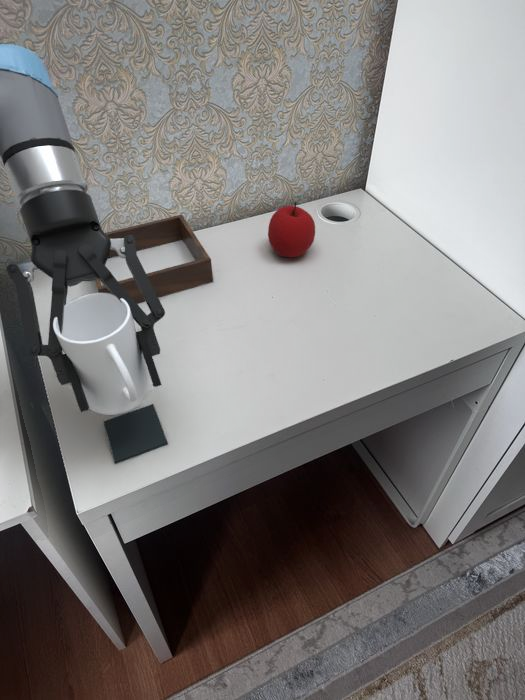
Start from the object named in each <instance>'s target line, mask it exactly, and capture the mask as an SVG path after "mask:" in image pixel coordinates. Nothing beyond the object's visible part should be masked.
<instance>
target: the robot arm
mask: <svg viewBox="0 0 525 700" xmlns="http://www.w3.org/2000/svg"><path fill="white" fill-rule="evenodd" d="M75 149H76V148H75V146H74V143H73V141H72V137H71V134H70V131H69V128H68V125H67V121H66V118H65V116H64V113H63V109H62V107H61V103H60V100H59V95H58V92H57V91H56V89H55V88H54V84H53V83H52V81H51V77H50V74H49V72H48V70H47V68H46V65H45V63H44V61H43V60H42V59H41V58H40V56H38V55H37V54H36V53H34V52H33V50H30V49H28V48H26V47H23V46H20V45H16V44H9V43H7V44H6V43H1V44H0V158H1V160H2V163H3V167H4V170H5V173H6V177H7V179H8V182H9V185H10V187H11V190H12V193H13V196H14V198H15V201H16V203H17V204H18V205H19V206H21V208H20V210H19V213H20V216H21V220H22V222H23V225H24V227H25V230H26V233H27V236H28V239H29V242H30V246H31V252H30V258H27V259H26V260H24V261H21V262H19V263H17V264H16V263H9V264H8V265H7V266H6V270H5V271H6V272H7V274H8V276H9V278H10V279H11V281H12V282H13V284H14V285H15V288H16V294H17V301H18V306H19V310H20V311H19V312H20V316H21V321H22V327H23V333H24V338H25V343H26V350H27V353H28V354H29V355H31V356H35V357H46V358H48V359H50V361H51V364H52V367H53V370H54V373H55V377H56V379H57V382H58V383H59V384H60V385H61V386H65V385H69V384H70V386H71V389H72V391H73V394H74V397H75V400H76V402H77V406H78V408H79V411H80V413H84V412H86V411H89V410H90V408H89V405H88V402H87V399H86V396H85V393H84V391H83V388H82V385H81V382H80V380H79V377H78V375H77V373H76V371H75V369H74V366H73V364H72V362H71V360H70V358H69V357H68V356H67V354H65V353H64V351H63V349H62V347H61V345H60V342H59V340H58V338H57V336H56V334H55V331H54V328H53V321H54V318H55V317H57V319H58V325H59V329H60V333H61V334H62V329H63V318H64V306H65V304H67V299H68V298H67V297H68V291H69V287H70V288H71V287H74V286H77V285H79V284H81V283H82V282H93V281H94V280H97V278H98V279H99V280H100V282H101V284H102V285H104V286H106V288H107V289H108V290H109V291H110V292H111V293H112V294H114V295H115V296H116V297H117V298H118V299H119V300H120V299H121V298H122V299H124V300H125V301H126V302H127V303H128V305H129V307H130V310H131V314H132V317H133V321H134V322H136V324H137V325H138V326H139V327H140V330H137V332H136V333H137V336H138V340H139V343H140V347H141V350H142V353H143V356H144V359H145V363H146V366H147V369H148V371H149V374H150V377H151V380H152V387H154V388H158V387H160V386H162V382H161V379H160V378H161V377H160V376H159V373H158V370H157V366H156V364H155V361H154V358H153V357H155V356H158V355H160V354H161V347H160V344H159V341H158V339H157V335H156V333H155V329H154V327H155V324H156V323H158V322H159V321H160V320H162V319H163V318H164V316H165V315H166V311H165V308H164V306H163V304H162V302H161V300H160V299H159V298H160V297H158V296H157V294H156V292H155V290H154V288H153V286H152V284H151V282H150V280H149V278H148V276H147V273H146V271H145V268H144V266H143V265H142V263H141V260H140V259H139V257H138V255H137V251H136V244H135V239H134V237H133V236H131V235H127V236H126V237H125V238H119V239H110V238H109V237H108V236H107V235H106V234H105V233H106V232H104V231H103V229H102V226H101V223H100V220H99V217H98V214H97V211H96V208H95V206H94V203H93V198H92V197H91V195H90V194H88V193H87V191H88V190H89V189H88V184H87V181H86V178H85V175H84V173H83V170H82V169H83V168H82V167H81V164H80V160H79V157H78V155H77V153H76V150H75ZM111 249H113V250H115V251H116V252H117V253H118V256H117V257H119V258H121V259H125V262H126V265H127V267H128V270H129V271H130V273H131V275H132V277H134V279H135V281H136V283H137V285H138V287H139V289H140V291H141V293H142V295H143V297H144V299H145V301H144V302H145V303H146V305H147V307H148V309H149V311H150V312H149V313H148V314H147V313H145V310H143V309H142V307H140V305H139V303H136V302H135V301H134V300H133V299H132V297H131V296H130V295H129V294H128V293H127V292H126V290H125V289H124V288H123V287H122V286H121V285H120V283H119V282H118V281H119V280H117V278H116V277H115V276H114V274H113V273H112V272H111V271H110V270H109V268H108V267H107V266H106V264H107V261H108V259H109V258H108V256H109V253H110V250H111ZM36 269H37V270H39V271H41V272H42V273H44V274H45V275H46V276H48V277H50V278H51V279H52V281H51V301H50V303H51V304H50V314H49V315H50V316H49V325H48V326H49V328H48V336H47V337H48V339H47V344H43V339H42V335H41V328H40V323H39V318H38V317H39V316H38V312H37V306H36V300H35V296H34V290H33V287H32V285H31V283H32V282H33V281H34V280H35V273H34V272H35V270H36ZM120 301H121V300H120ZM121 303H122V302H121Z"/></svg>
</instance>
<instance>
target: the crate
mask: <svg viewBox="0 0 525 700" xmlns="http://www.w3.org/2000/svg"><path fill="white" fill-rule="evenodd" d="M104 233H105V234H106V235H107V236H108V237H109V238H110V239H119V238H125V237H126V236H127V235H131V236H133V237H134V239H135V244H136V252H138V251H143V250H147V249H150V248H153V247H154V248H155V247H158V246H161V245H166V244H169V243H174V242H177V241H183V242H184V244H185V246H186V247H187V249H188V250H189V252H190V254H191V256H192V257H193V258H194V260H192V261H188V262H185V263H181V264H177V265H173V266H170V267H166V268H162V269H158V270H155V271H152V272H148V273H146V274H147V276H148V278H149V280H150V282H151V284H152V286H153V288H154V290H155V292H156V294H157V296H158V298H161V297H164V296H168V295H171V294H175V293H179V292H183V291H186V290H189V289H193V288H197V287H200V286H203V285H208V284H211V283H213V282H214V275H213V266H212V258H211V257H210V255H209V254H208V252H207V251H206V249H205V248H204V246H203V245H202V243H201V242H200V240H199V239H198V237H197V236H196V234H195V232H194V231H193V230H192V228H191V227H190V225H189V223H188V222H187V221H186V219H185V218H184V216H183V214H178V215H173V216H171V217H166V218H161V219H157V220H153V221H148V222H145V223H141V224H136V225H131V226H128V227H123V228H119V229H116V230H112V231H106V232H104ZM115 257H119V256H118V253H117V252H116V251H115V250H113V249H111V250H110V253H109V256H108V259H110V258H115ZM93 281H94V285H95V286H96V290H97V293H111V292H110V291H109V290H108V289H107V288H106V286H104V285H103V284H102V282H101V281H100V280H99V279H98V278H97V280H93ZM117 281H118V282H119V283H120V285H121V286H122V287H123V288H124V289H125V290H126V292H127V293H128V294H129V295H130V296H131V297H132V299H133V300H134V301H135V302H136V303H137V304H140V303H144V302H146V301H145V299H144V297H143V295H142V293H141V291H140V289H139V287H138V285H137V283H136V281H135V279H134V277H133V276H132V277H129V278H126V279H122V280H117ZM111 294H112V293H111Z"/></svg>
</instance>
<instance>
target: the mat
mask: <svg viewBox="0 0 525 700" xmlns="http://www.w3.org/2000/svg"><path fill="white" fill-rule="evenodd" d="M102 421H103V426H104V429H105V433H106V437H107V439H108V443H109V447H110V451H111V454H112V458H113V461H114V464H116V465H117V464H120V463H122V462H125V461H127V460H130V459H132V458H135V457H138V456H140V455H144V454H146V453H148V452H152V451H154V450H156V449H159V448H163V447H164V446H167V445H169V443H168V442H169V441H168V439H167V437H166V434H165V431H164V429H163V426H162V424H161V421H160V418H159V415H158V412H157V410H156V407H155V405H154V403H151V404H149V405H146V406H143V407H140V408H136V409H133V410H130V411H127V412H124V413H121V414H119V415H117V416H113V417H111V418H108V419H106V420H102Z"/></svg>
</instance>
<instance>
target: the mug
mask: <svg viewBox="0 0 525 700" xmlns="http://www.w3.org/2000/svg"><path fill="white" fill-rule="evenodd" d="M120 300H121V301H120ZM120 300H119V299H118V298H117V297H116V296H115V295H114V294H111V293H98V292H92V293H86V294H83V295H80V296H78V297H75V298H73V299H71V300H69V301H68V302H66V304H65V306H64V318H63V329H62V334H61V333H60V329H59V325H58V319H57V317H55V318H54V321H53V328H54V331H55V334H56V336H57V338H58V340H59V342H60V345H61V347H62V351H63V354H67V356H68V357H69V358H70V360H71V362H72V364H73V366H74V369H75V371H76V373H77V375H78V377H79V380H80V382H81V385H82V388H83V391H84V393H85V396H86V399H87V402H88V405H89V410H91V411H93V412H95V413H98V414H101V415H106V416H107V415H121V414H125V413H128V412H130V411H133V410H135V408H137V407H138V406H140V405H141V404H143V402H144V401H145V400H147V398H148V396H149V394H150V393H151V391H152V387H153V383H152V380H151V377H150V374H149V371H148V368H147V365H146V362H145V359H144V356H143V353H142V350H141V347H140V343H139V340H138V336H137V333H136V332H138V330H137V327H136V325H135V320H134V319H133V317H132V314H131V310H130V307H129V305H128V303H127V302H126V301H125V300H124V299H122V298H121V299H120ZM121 302H122V303H121Z"/></svg>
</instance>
